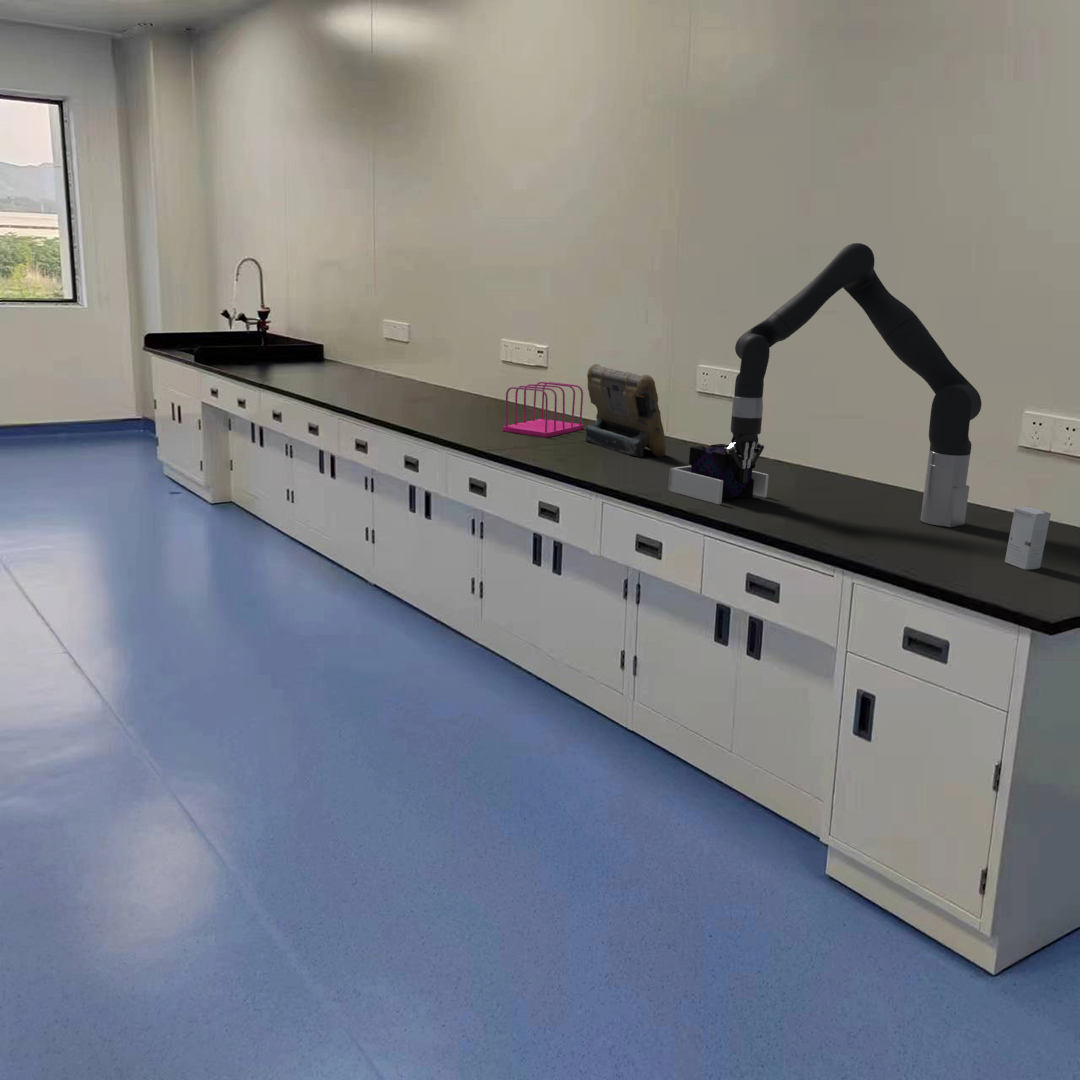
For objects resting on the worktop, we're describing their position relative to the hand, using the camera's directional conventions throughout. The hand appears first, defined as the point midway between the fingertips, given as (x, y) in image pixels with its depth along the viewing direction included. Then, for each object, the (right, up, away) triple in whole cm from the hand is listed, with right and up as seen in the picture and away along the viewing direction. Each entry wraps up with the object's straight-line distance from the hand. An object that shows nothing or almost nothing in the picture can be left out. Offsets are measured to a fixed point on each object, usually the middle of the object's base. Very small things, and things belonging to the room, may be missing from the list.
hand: (741, 482), depth 284 cm
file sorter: (-50, +22, +97) cm, 111 cm away
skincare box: (+50, -20, -49) cm, 73 cm away
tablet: (-25, +14, +69) cm, 74 cm away
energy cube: (-4, -3, +7) cm, 9 cm away
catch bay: (-5, -3, +8) cm, 9 cm away
